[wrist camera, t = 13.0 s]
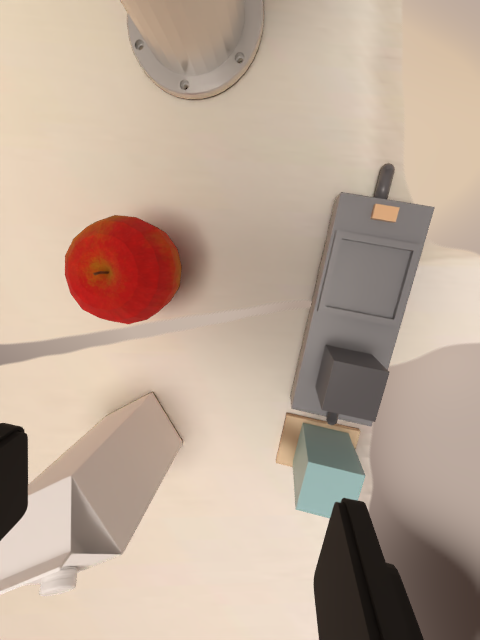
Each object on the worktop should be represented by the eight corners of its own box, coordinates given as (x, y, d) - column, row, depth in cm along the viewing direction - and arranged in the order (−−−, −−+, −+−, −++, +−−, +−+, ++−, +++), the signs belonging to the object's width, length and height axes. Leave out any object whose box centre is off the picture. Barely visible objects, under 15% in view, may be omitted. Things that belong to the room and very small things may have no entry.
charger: (302, 422, 35) (308, 461, 28) (351, 433, 34) (369, 476, 28) (292, 462, 36) (295, 509, 29) (340, 473, 35) (354, 524, 29)
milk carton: (105, 415, 38) (-57, 558, 20) (153, 390, 37) (26, 520, 19) (136, 463, 39) (6, 645, 21) (184, 441, 38) (91, 615, 19)
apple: (184, 215, 33) (131, 189, 21) (207, 299, 34) (169, 318, 23) (104, 239, 34) (14, 227, 23) (129, 318, 36) (56, 346, 24)
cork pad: (286, 412, 36) (286, 415, 35) (358, 428, 35) (360, 431, 34) (275, 459, 37) (275, 462, 36) (345, 476, 36) (346, 479, 35)
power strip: (344, 159, 30) (366, 123, 22) (430, 172, 29) (485, 140, 22) (289, 400, 35) (292, 440, 27) (362, 416, 35) (386, 461, 27)
